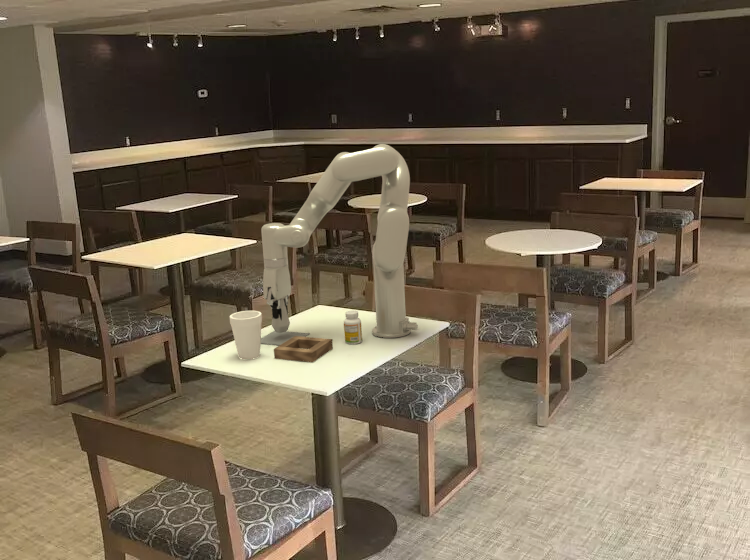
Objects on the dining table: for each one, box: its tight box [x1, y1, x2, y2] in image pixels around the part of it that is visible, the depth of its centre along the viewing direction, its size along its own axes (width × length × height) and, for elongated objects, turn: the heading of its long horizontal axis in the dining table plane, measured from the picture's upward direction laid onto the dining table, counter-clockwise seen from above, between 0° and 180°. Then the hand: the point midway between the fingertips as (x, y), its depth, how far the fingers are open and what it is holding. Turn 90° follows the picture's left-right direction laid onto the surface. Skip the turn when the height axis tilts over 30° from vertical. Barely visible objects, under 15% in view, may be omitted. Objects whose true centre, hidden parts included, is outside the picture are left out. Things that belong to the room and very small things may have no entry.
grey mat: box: [261, 330, 310, 347], centre depth 247 cm, size 13×13×1 cm
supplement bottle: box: [343, 310, 363, 345], centre depth 239 cm, size 5×5×10 cm
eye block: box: [273, 336, 334, 363], centre depth 231 cm, size 13×13×3 cm
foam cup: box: [229, 310, 263, 360], centre depth 230 cm, size 10×9×13 cm
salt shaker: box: [271, 296, 291, 333], centre depth 245 cm, size 6×6×13 cm
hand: (280, 318), depth 245 cm, fingers closed on salt shaker, 3 cm apart
